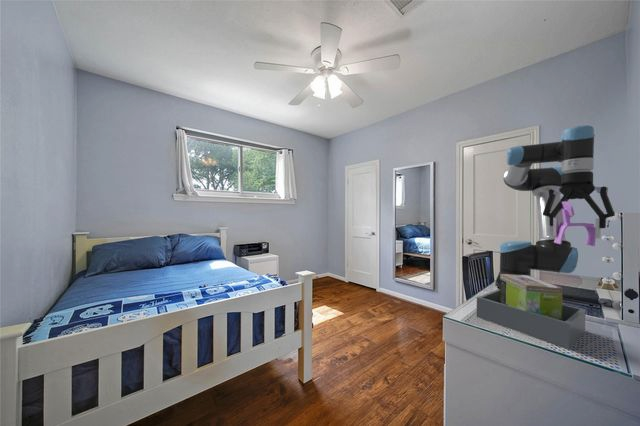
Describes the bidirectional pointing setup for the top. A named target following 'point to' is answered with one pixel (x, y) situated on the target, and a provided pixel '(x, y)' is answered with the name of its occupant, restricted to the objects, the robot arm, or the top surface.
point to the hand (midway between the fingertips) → (575, 236)
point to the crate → (533, 320)
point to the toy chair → (566, 215)
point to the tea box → (531, 295)
